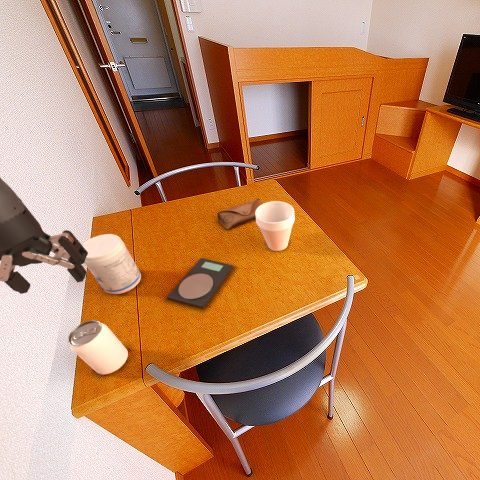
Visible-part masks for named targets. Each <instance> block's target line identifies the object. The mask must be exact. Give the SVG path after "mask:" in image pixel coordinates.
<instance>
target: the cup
mask: <svg viewBox="0 0 480 480" xmlns="http://www.w3.org/2000/svg"><path fill="white" fill-rule="evenodd" d="M255 216H256V219H255V223H256V225H257V226H258V227H259V229H260V232H261V234H262V236H263V238H264V240H265V243H266V245H267V248H269V250H271V251H274V252H280V251H283V250H285V249H286V248H287V247H288V245H289V241H290V237H291V233H292V229H293V226H294V223H295V219H296V217H295V209H294V206H292V205H291V204H290V203H288V202H285V201H281V200H272V201H267V202H264V203H262V205H260V206H259V207H258V208H257V209H256V211H255Z"/></svg>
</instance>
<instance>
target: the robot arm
mask: <svg viewBox="0 0 480 480" xmlns="http://www.w3.org/2000/svg"><path fill="white" fill-rule="evenodd" d="M51 252H52V253H54V255H53V256H50V255H51ZM87 255H88V252H87V251H86V249H85V248H84V247H83V246H82V243H81V242H80V241H79V240H78V238H77V237H76V236H75V234H74V233H73V232H72V231H71V230H67V229H66V230H65V229H64V230H63V231H62V232H61V233H60V234H56V235H55V234H54V235H50V234H48V233H46V232H45V231H44V230H43V228H42V226H41V223H40V222H39V221H38V220H37V218H36V217H35V215H33V213H32V212H31V211H30V209H29V208H28V207H27V206H26V205H25V203H24V202H23V201H22V199H21V198H20V197H19V195H17V193H16V192H15V190H13V188H12V187H11V186H10V185H8V183H7V182H5V180H3V178H2V177H0V282H4V283H5V284H6V285H7V286H8V287H9V288H11V290H12V291H13V292H16V293H19V294H20V295H22V294H27V293H28V291H29V290H30V288H31V283H30V282H29V281H28V280H27V279H26V278H25V277H24V276H23V275H22V274H21V273H20V272H19V271H17V270H16V271H15V269H16V266H19V267H20V268H22V267H26V266H27V267H28V266H29V265H38V264H43V263H45V264H48V265H51V266H60V267H63V268H66V271H67V272H68V273H69V274H70V275H71V277H72V278H73V279H74V280H75V282H76V283H82V282H84V280H85V279H86V276H87V270H86V269H85V267H84V266H83V264H85V263H84V262H85V259H86V257H87Z"/></svg>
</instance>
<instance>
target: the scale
mask: <svg viewBox="0 0 480 480" xmlns="http://www.w3.org/2000/svg"><path fill="white" fill-rule="evenodd" d="M233 269H234V265H232V264H229V263H224V262H220V261H217V260H216V261H215V260H211V259H207V258H203V257H200V259H198V261H197V262H196V263H195V264H194V265H193V266H192V268H191V269H190V270H189V271H188V272H187V273H186V274H185V275H184V277H183V278H182V279H181V280H180V281H179V282H178V284H177V285H176V286H175V287H174V288H173V289H172V290H171V292H169V294H168V295H167V296H166V299H167V300H168V301H172V302H175V303H178V304H182V305H186V306H190V307H193V308H197V309H201V310H204V309H205V308H206V306H207V305H208V303H209V302H210V301H211V300H212V298H213V296H214V295H215V294H216V292H218V290H219V288H220V287H221V286H222V284H223V283H224V281H225V280H226V279H227V278H228V276H229V274H230V273H231V272H232V270H233Z"/></svg>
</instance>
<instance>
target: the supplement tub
mask: <svg viewBox="0 0 480 480" xmlns="http://www.w3.org/2000/svg"><path fill="white" fill-rule="evenodd" d="M81 245H82V246H83V247H84V248H85V249H86V251H87V252H88V255H87V257H86V259H85V262H84V263H83V264H84V265H85V266H86V267H87V270H89V271H90V273H91V274H92V276H93V277H94V278H95V280H96V281H97V283H98V284H99V286H100V287H101V288H102V289H103V291H104V292H106V293H108V294H110V295H120V294H124V293H126V292H129V291H131V290H133V289H134V288H136V286H137V285H138V284H139V283H140V281H141V279H142V274H141V271H140V269H139V268H138V266H137V264H136V263H135V261H134V259H133V257H132V255H131V253H130V252H129V249H128V248H127V246H126V244H125V242H124V241H123V240H122V238H121V237H120V236H118V235H116V234H113V233H105V234H99V235H97V236H93V237H91V238H89V239H87V240H85V242H83V243H81Z"/></svg>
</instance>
